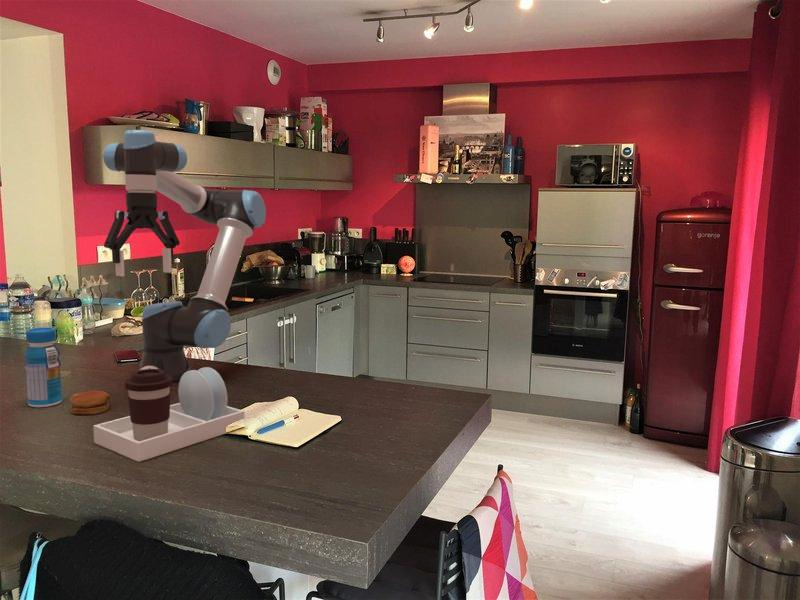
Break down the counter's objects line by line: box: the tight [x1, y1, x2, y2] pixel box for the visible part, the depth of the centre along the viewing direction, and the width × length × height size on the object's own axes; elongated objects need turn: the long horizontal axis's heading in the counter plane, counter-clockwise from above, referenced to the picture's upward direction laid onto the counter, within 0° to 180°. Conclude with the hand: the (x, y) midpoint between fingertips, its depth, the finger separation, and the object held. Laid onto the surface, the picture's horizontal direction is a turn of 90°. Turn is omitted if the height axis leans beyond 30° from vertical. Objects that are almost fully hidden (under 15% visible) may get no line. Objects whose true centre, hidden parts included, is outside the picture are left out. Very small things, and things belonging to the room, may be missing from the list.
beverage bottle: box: [23, 326, 63, 408], centre depth 173 cm, size 8×8×20 cm
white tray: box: [93, 402, 246, 463], centre depth 152 cm, size 28×18×4 cm, turn 143°
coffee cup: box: [124, 369, 173, 441], centre depth 147 cm, size 10×10×15 cm
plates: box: [177, 366, 228, 421], centre depth 158 cm, size 4×13×13 cm, turn 53°
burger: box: [69, 389, 111, 416], centre depth 169 cm, size 10×9×5 cm
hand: (144, 274), depth 172 cm, fingers open, 13 cm apart
